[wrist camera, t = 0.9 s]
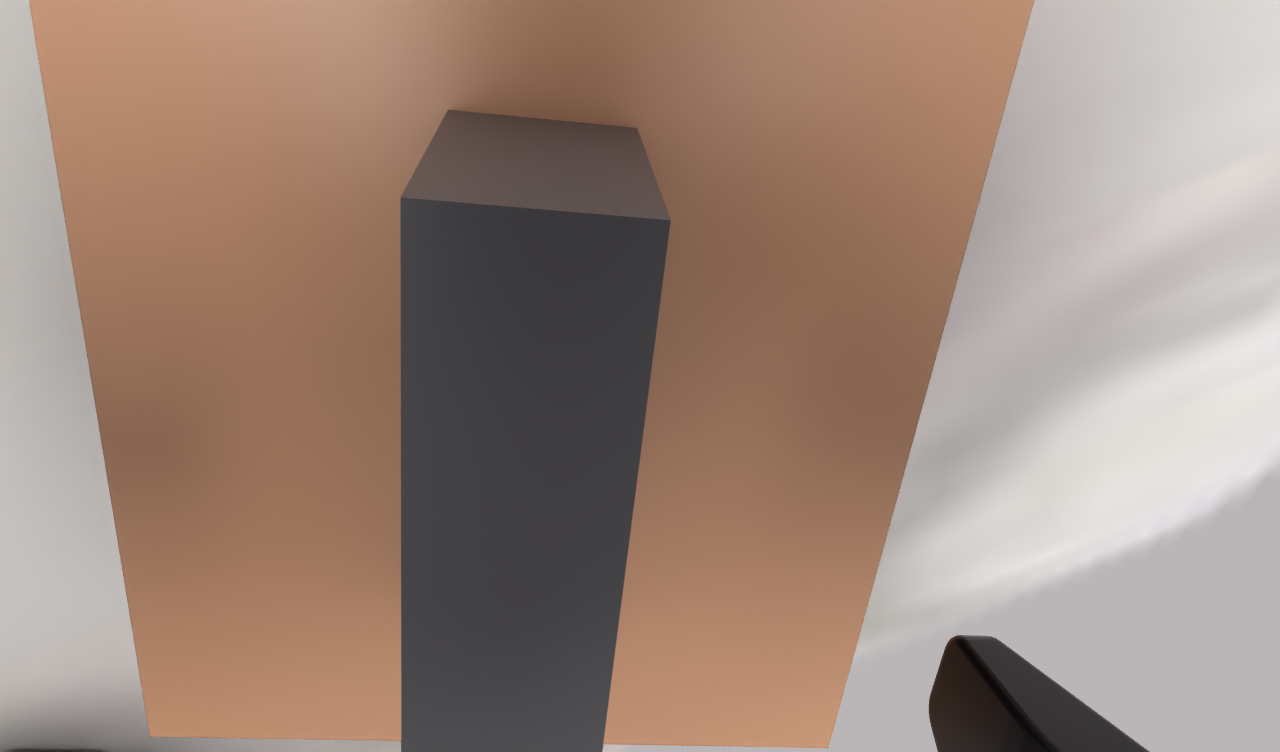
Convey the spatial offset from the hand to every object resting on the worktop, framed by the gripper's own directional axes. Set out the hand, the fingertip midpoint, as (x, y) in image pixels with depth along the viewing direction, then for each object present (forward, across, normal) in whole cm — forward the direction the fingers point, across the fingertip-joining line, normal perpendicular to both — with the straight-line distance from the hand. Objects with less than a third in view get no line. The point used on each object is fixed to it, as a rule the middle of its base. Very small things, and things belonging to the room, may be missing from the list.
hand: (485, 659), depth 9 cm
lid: (+7, 0, 0) cm, 7 cm away
